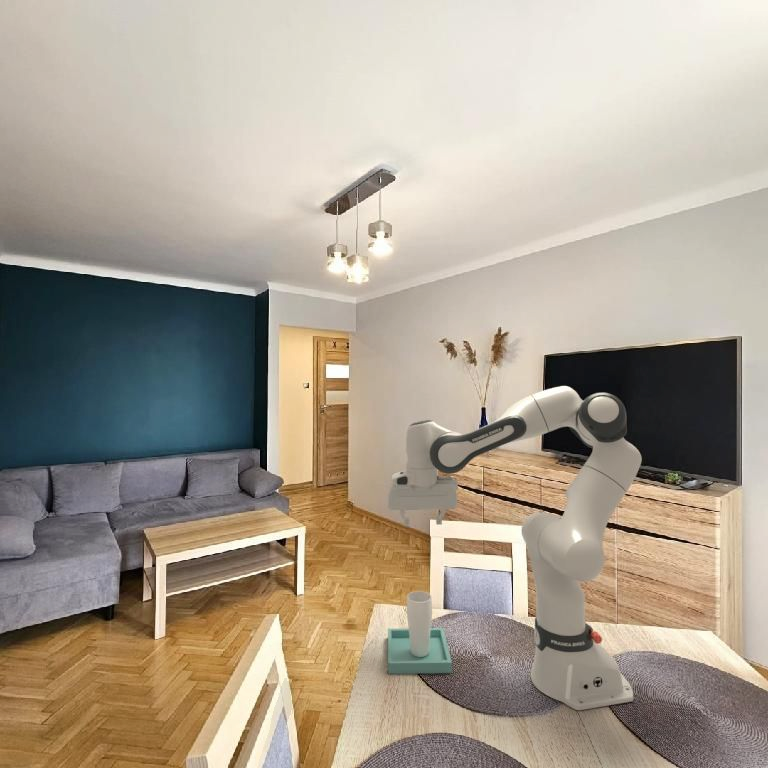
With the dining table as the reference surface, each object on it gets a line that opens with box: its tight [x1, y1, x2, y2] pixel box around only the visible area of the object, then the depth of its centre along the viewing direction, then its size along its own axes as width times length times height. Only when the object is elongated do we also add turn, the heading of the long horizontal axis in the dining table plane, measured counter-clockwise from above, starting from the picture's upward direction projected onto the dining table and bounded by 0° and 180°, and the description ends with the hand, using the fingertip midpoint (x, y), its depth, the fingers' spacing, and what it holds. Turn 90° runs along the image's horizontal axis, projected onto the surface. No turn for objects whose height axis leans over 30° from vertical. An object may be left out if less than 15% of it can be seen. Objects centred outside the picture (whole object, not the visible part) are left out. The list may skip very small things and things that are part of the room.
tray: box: [387, 627, 453, 675], centre depth 118 cm, size 16×16×3 cm
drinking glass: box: [406, 590, 433, 657], centre depth 118 cm, size 7×7×15 cm
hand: (422, 524), depth 126 cm, fingers open, 8 cm apart
